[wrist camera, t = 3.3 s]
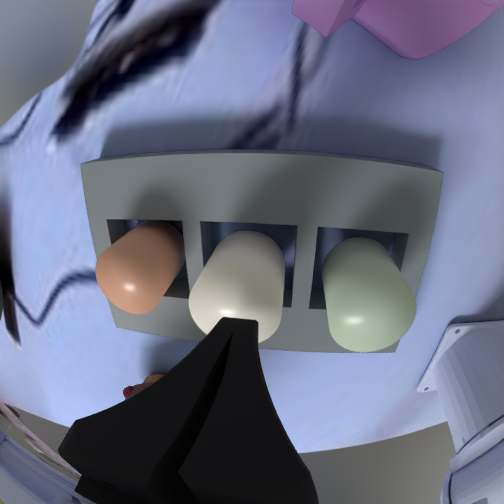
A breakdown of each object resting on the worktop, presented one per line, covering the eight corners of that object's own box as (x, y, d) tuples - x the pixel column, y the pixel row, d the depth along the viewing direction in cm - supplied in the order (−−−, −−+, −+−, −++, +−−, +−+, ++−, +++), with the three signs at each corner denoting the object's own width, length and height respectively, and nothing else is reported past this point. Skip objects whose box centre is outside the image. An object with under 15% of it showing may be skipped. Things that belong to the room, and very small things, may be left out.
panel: (427, 165, 14) (443, 172, 12) (388, 333, 19) (395, 352, 17) (99, 158, 16) (80, 163, 14) (127, 312, 21) (116, 327, 19)
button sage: (397, 239, 14) (427, 280, 10) (382, 301, 16) (401, 351, 12) (325, 234, 15) (336, 276, 11) (317, 299, 16) (322, 351, 12)
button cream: (287, 232, 15) (284, 273, 11) (283, 297, 16) (278, 349, 13) (211, 228, 15) (183, 266, 11) (215, 291, 17) (194, 340, 13)
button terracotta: (184, 219, 17) (153, 250, 13) (190, 278, 18) (165, 318, 15) (127, 218, 17) (88, 245, 13) (137, 273, 19) (105, 308, 15)
